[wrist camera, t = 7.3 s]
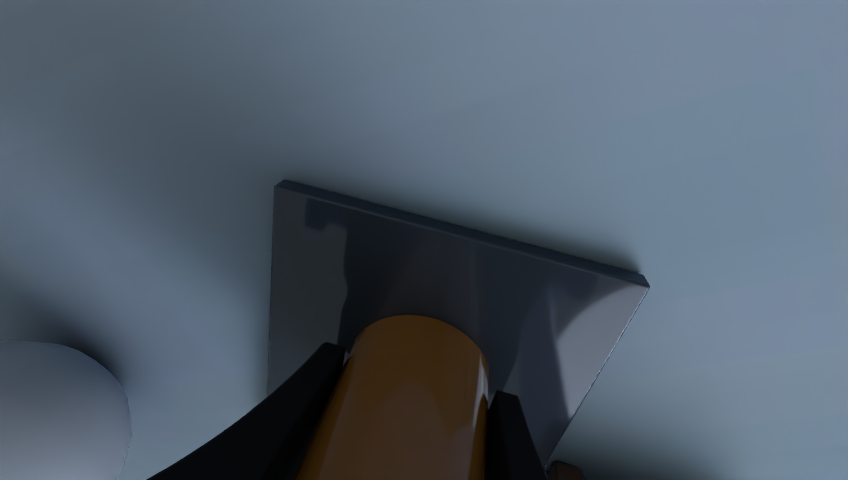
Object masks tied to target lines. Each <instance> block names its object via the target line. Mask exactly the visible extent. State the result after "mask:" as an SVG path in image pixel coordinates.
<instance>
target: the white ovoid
mask: <svg viewBox="0 0 848 480" xmlns="http://www.w3.org/2000/svg"><path fill="white" fill-rule="evenodd" d="M131 437H132V432H131V420H130V413H129V406H128V399H127V396H126V394H125V392H124V390H123V388H122V386H121V385H120V383H119V382H118V381H117V380H116V379H115V377H114V376H113V375H112V374H111V373H110V372H109V371H108V370H107V369H106V368H104V367H103V366H102V365H101V364H99V363H98V362H97V361H96V360H94V359H92V358H91V357H89V356H87V355H85V354H84V353H82V352H80V351H78V350H75V349H73V348H70V347H67V346H64V345H61V344H53V343H45V342H30V341H15V340H8V341H3V342H0V480H116V479H117V477H118V475H119V474H120V472H121V470H122V468H123V466H124V463H125V459H126V455H127V451H128V448H129V444H130V440H131Z"/></svg>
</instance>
